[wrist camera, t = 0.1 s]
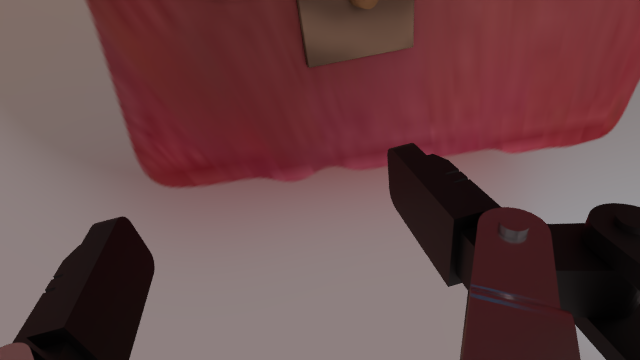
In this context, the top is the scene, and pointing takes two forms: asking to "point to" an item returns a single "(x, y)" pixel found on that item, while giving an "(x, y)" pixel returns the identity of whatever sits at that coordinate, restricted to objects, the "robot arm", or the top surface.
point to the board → (354, 28)
